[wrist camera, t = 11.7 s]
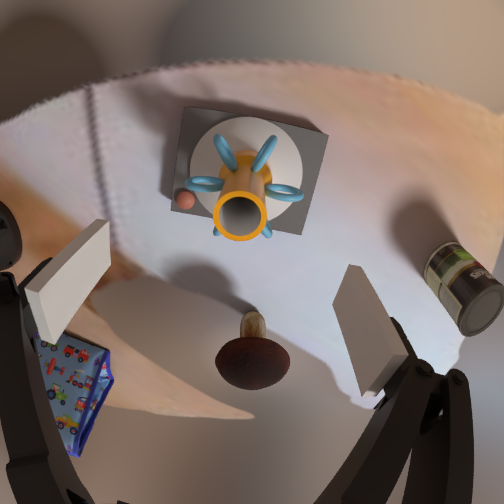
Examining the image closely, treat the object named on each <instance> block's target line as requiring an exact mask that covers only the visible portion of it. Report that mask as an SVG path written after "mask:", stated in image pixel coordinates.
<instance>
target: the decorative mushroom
mask: <svg viewBox="0 0 504 504" xmlns="http://www.w3.org/2000/svg"><path fill="white" fill-rule="evenodd" d="M265 335H266V325H265V320H264V318H263V316H262V315H261V314H260V313H258V312H255V311H251V312H248V313H246V314H245V315H244V316H243V318H242V320H241V324H240V338H237V339H234V340H231V341H229V342H227V343H226V344H225V345H224V346H223V347H222V348H221V350H220V351H219V353H218V354H217V356H216V359H215V364H216V367H217V369H218V371H219V373H220V374H221V376H222V377H223V378H224V379H225V380H226V381H227V382H228V383H230V384H231V385H233V386H236V387H238V388H241V389H246V390H258V389H262V388H265V387H268V386H271V385H273V384H275V383H277V382H278V381H280V380H281V379H282V378H283V377H284V375H285V374H286V373H287V371H288V369H289V366H290V357H289V355H288V353H287V351H286V350H285V349H284V348H283V347H281V346H280V345H279V344H278V343H276V342H274V341H272V340H269V339H266V338H265Z"/></svg>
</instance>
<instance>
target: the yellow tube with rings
mask: <svg viewBox="0 0 504 504" xmlns="http://www.w3.org/2000/svg"><path fill="white" fill-rule="evenodd" d="M213 142H214V145H215V147H216V150H217V152H218V154H219V156H220V158H221V159H222V161H223V163H224V164H223V166H222V168H221V170H220V172H219V176H218V178H217V177H212V176H194V177H190V178H188V179H186V181H185V186H186V187H187V188H188V189H190V190H193V191H197V192H218V191H221V192H220V195H219V197H218V200H217V202H216V205H215V207H214V211H213V220H214V224H215V227H214V230H213V234H214V235H215V236H219V235H220V234H222V235H223V236H225V237H226V238H228V239H231V240H235V241H247V240H250V239H253V238H254V237H256V236H257V235H259V234H260V233H261V232H262V234H263V235H264V236H265V237H266V238H270V237H271V236H272V229H271V226H270V223H269V221H268V219H267V209H266V199H265V198H266V197H267V196H268V197H270V198H272V199H275V200H280V201H286V202H296V201H300V200H302V199H303V197H304V194H303V192H302V191H301V190H300V189H298V188H296V187H293V186H289V185H284V184H272V173H271V169H270V166H269V163H268V162H267V159H268V158H269V156H270V155H271V153H272V151H273V149H274V147H275V145H276V143H277V136H275V135H271V136H270V137H269V138H268V139H267V140H266V141H265V143H264V144H263V146H262V147H261V149H260V150H259V152H255V151H252V150H240V151H237V152H235V153H233V152H232V150H231V148H230V147H229V145H228V143H227V142H226V140H225V139H224V137H223V136H222V135H220V134H215V135H214V136H213ZM197 183H211V184H212V185H205V184H197ZM276 191H283V192H288V193H291V194H285V193H280V192H276Z"/></svg>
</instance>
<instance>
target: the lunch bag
mask: <svg viewBox="0 0 504 504" xmlns="http://www.w3.org/2000/svg"><path fill="white" fill-rule="evenodd" d="M34 338H35V340H36V345H37V351H38V356H39V361H40V366H41V370H42V375H43V379H44V383H45V387H46V391H47V395H48V398H49V402H50V405H51V408H52V412H53V415H54V418H55V421H56V424H57V427H58V430H59V432H60V435H61V438H62V440H63V443H64V446H65V448H66V451H67V453H68V455H72V456H75V457H80V456H81V454H82V451H83V448H84V445H85V443H86V441H87V439H88V436H89V434H90V432H91V430H92V428H93V425H94V421H95V419H96V417H97V415H98V412H99V410H100V408H101V406H102V404H103V402H104V401H105V399H106V397H107V394H108V393H109V390H110V389H111V387H112V385H113V383H114V378H113V376H112V373H111V370H110V351H107V350H104V349H102V348H99V347H96V346H93V345H91V344H88V343H85V342H83V341H80V340H78V339H75V338H73V337H70V336H68V335H65V334H63V333H62V334H61V336H60V337H59V339H58V340H57V342H56V343H55V345H54V344H51V343H49V342H46V341H44V340H41V337H40V335H39V332H38V330H37V331H36V333H35V334H34Z"/></svg>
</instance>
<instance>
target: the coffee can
mask: <svg viewBox="0 0 504 504" xmlns="http://www.w3.org/2000/svg"><path fill="white" fill-rule="evenodd" d="M424 279H425V282H426V284H427V285H428V286H429V287H430V288H431V290H432V291H433V292H434V294H435V295H436V297H437V298H438V299H439V301H440V302H441V303H442V305H443V306H444V308H445V309H446V310H447V312H448V313H449V315H450V316H451V318H452V319H453V321H454V322H455V324H456V325H457V327H458V328H459V331H460V332H461V334H462V335H463V336H466V337H471V336H474V335H477V334H479V333H481V332H482V331H484V330H485V329H486V328H488V327H489V326H490V325H491V324H492V323H493V321H494V320H495V319H496V318H497V316H498V315H499V313H500V312H501V310H502V308H503V305H504V286H503V285H502V284H501V283H499V282H498V281H497V280H496V279H495V278H494V277H493V276H492V275H491V274H490V273H489V272H488V271H487V270H486V269H485V268H484V267H483V266H482V265H481V264H480V263H479V262H478V261H477V260H476V259H475V258H474V257H473V256H472V255H471V254H469V253H468V252H467V251H466V250H465V249H464V248H463V247H462V246H461V245H460V244H459V243H457V242H448V243H445V244H443V245H441V246H440V247H438V248H437V249H436V250H435V251H434V252H433V253H432V254H431V256H430V257H429V259H428V261H427V263H426V266H425V270H424Z"/></svg>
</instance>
